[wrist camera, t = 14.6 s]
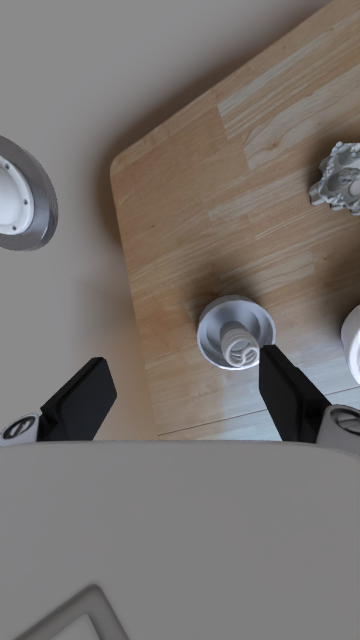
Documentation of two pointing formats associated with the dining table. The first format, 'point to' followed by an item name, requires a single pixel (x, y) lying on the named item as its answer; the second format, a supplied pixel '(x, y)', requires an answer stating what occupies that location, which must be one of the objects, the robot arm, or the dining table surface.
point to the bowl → (352, 342)
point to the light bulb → (238, 345)
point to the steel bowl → (232, 310)
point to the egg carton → (339, 179)
